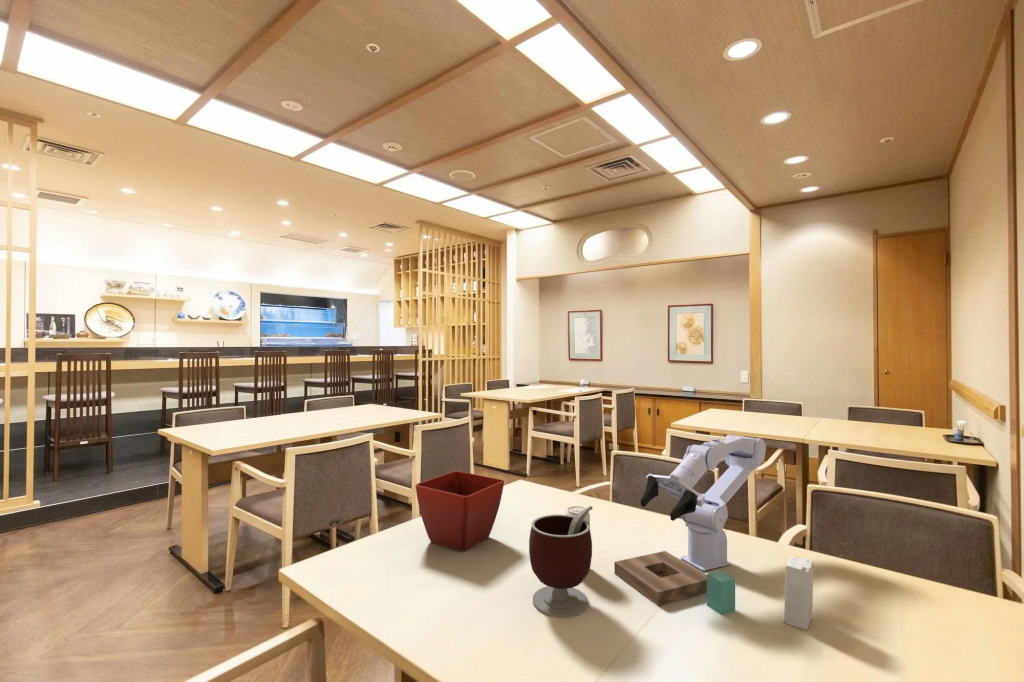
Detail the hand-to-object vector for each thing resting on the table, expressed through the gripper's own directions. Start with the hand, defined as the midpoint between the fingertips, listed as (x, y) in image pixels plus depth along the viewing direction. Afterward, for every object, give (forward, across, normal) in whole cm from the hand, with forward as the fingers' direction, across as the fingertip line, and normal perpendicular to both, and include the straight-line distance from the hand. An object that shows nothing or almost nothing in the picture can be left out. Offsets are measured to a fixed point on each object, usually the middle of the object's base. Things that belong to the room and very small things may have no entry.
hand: (656, 510), depth 112 cm
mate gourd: (+26, -8, +10) cm, 30 cm away
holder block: (+4, +3, +18) cm, 19 cm away
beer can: (+14, -16, +18) cm, 27 cm away
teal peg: (+4, +17, +15) cm, 23 cm away
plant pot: (+25, -50, +19) cm, 59 cm away
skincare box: (-3, +30, +16) cm, 34 cm away
